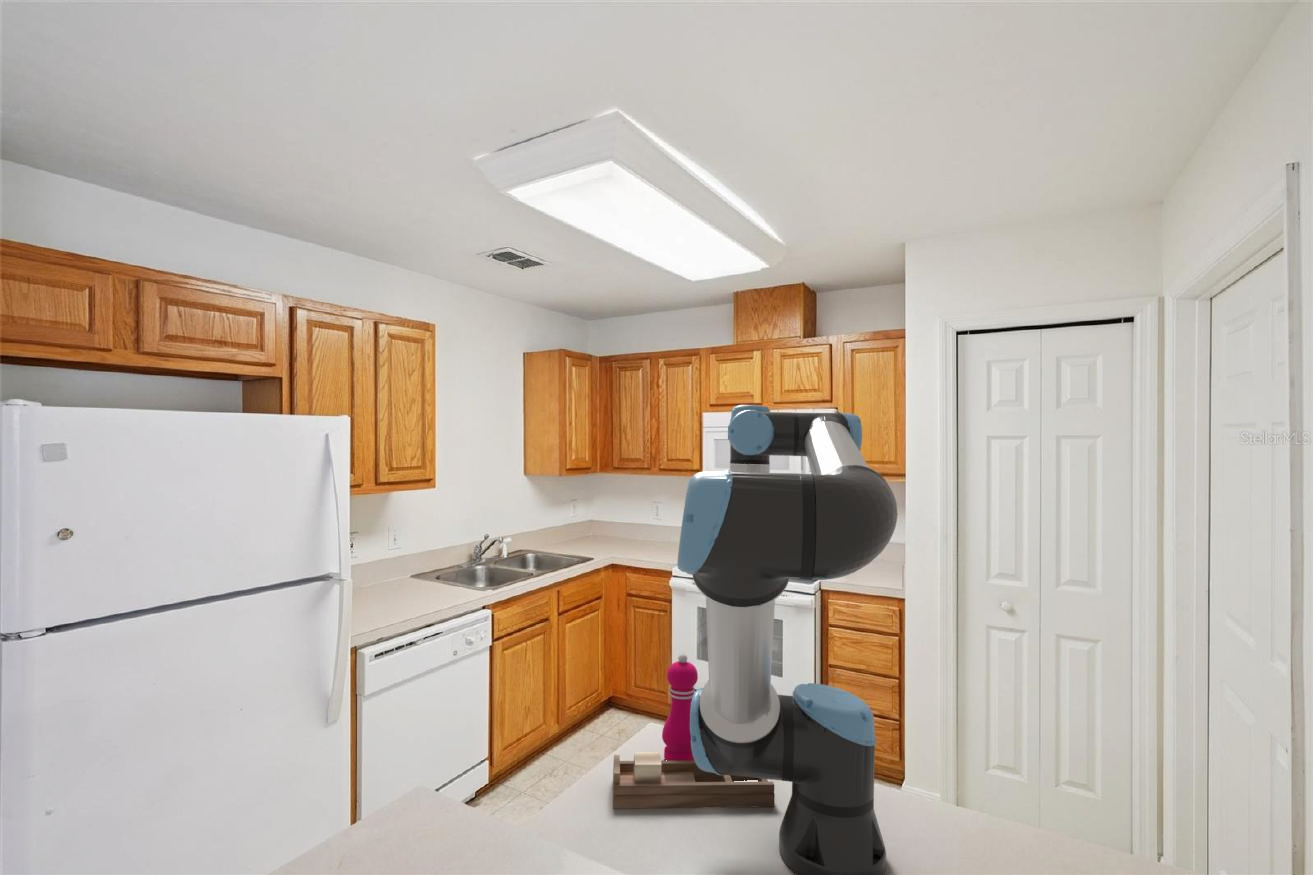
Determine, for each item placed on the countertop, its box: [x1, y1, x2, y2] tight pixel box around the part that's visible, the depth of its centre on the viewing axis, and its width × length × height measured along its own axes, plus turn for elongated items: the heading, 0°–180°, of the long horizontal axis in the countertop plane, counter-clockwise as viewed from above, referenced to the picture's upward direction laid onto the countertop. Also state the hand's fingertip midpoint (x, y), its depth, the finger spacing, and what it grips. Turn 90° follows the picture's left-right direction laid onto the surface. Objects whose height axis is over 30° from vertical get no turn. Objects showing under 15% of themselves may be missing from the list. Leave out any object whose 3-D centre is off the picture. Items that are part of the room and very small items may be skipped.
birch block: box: [633, 751, 662, 783], centre depth 105 cm, size 4×4×4 cm
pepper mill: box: [661, 653, 699, 761], centre depth 119 cm, size 7×7×20 cm
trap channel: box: [612, 754, 776, 809], centre depth 106 cm, size 9×27×5 cm, turn 94°
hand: (746, 613), depth 114 cm, fingers closed
